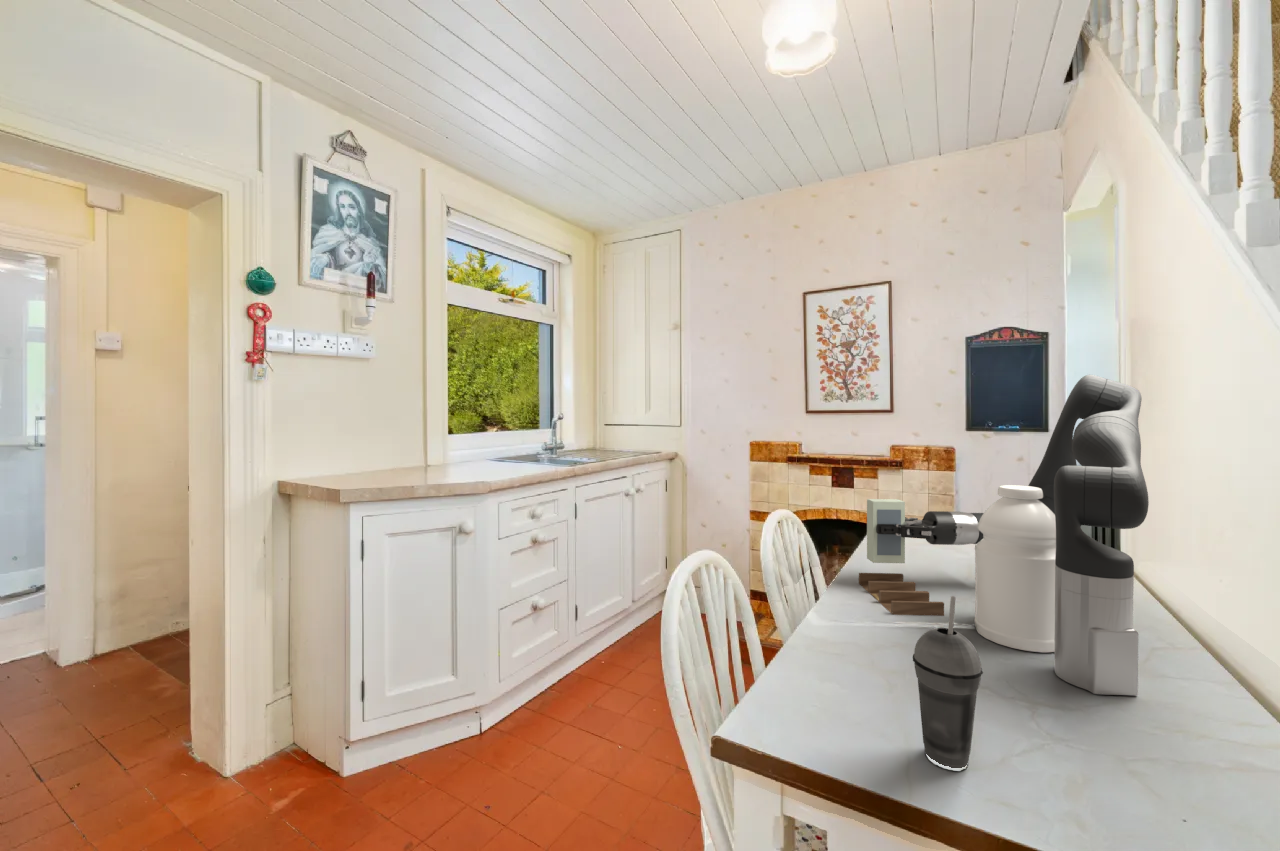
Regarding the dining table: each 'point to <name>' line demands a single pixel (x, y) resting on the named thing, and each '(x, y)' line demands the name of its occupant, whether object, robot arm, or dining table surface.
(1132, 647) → the robot arm
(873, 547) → the beige box
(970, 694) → the beverage cup
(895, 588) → the stand
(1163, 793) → the dining table surface
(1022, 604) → the bottle
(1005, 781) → the dining table surface
